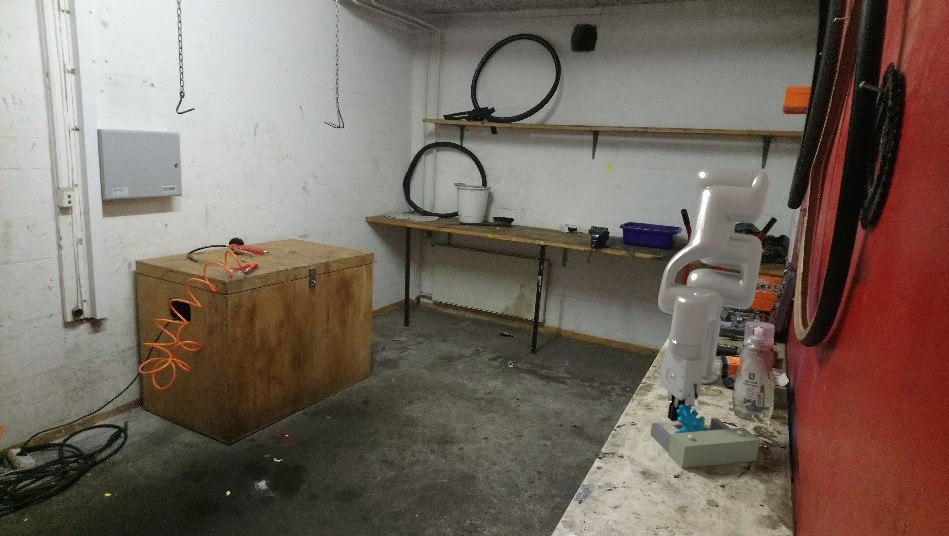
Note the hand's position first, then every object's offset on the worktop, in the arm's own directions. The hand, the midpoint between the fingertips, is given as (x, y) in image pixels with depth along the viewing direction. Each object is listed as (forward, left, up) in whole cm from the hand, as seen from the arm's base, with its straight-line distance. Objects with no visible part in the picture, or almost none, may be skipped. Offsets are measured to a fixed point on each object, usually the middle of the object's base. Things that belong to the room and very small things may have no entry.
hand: (675, 419), depth 131 cm
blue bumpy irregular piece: (+7, 0, -2) cm, 7 cm away
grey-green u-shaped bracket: (+10, 0, -1) cm, 10 cm away
